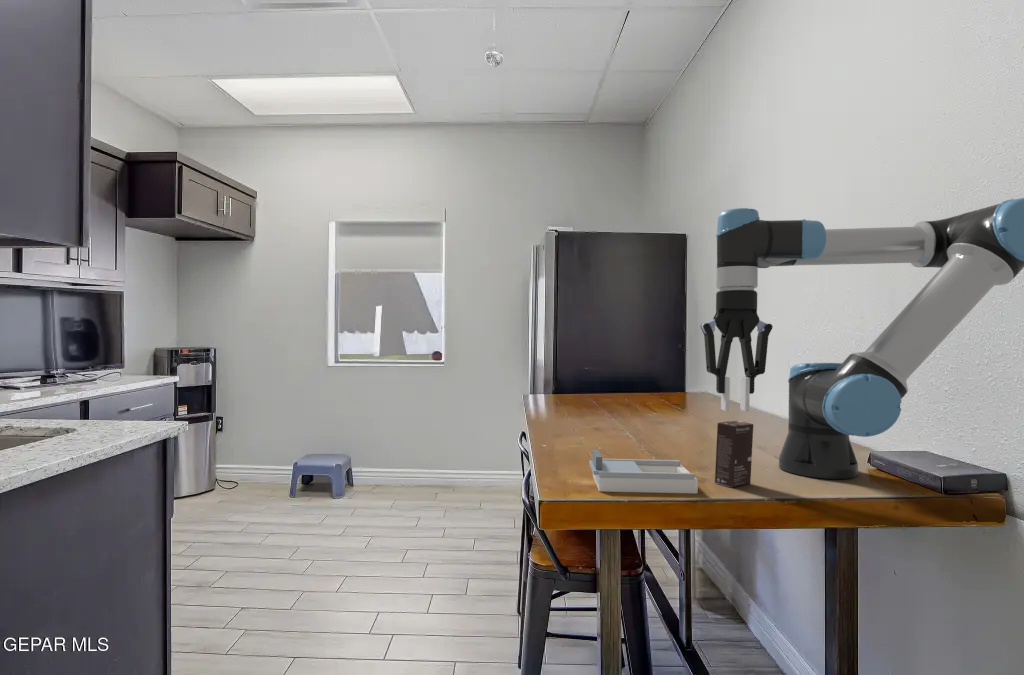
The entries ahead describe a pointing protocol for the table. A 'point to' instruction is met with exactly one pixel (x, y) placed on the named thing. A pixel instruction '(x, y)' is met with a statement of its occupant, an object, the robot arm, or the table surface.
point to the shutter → (610, 464)
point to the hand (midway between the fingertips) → (734, 410)
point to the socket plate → (649, 478)
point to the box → (733, 453)
